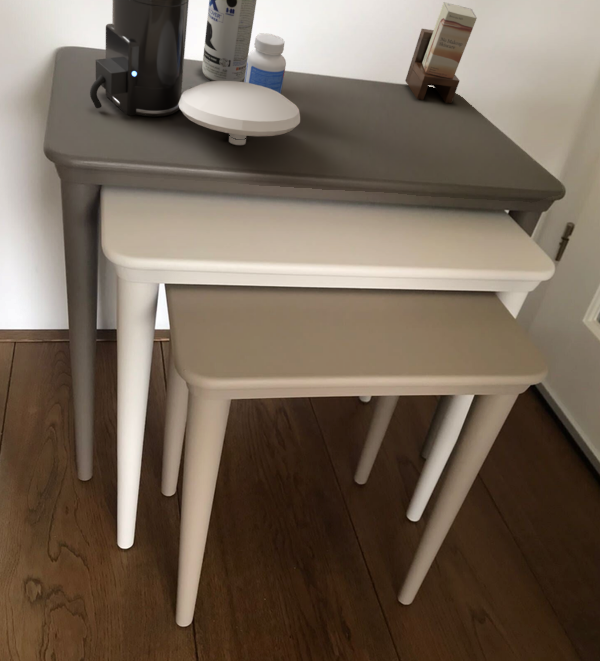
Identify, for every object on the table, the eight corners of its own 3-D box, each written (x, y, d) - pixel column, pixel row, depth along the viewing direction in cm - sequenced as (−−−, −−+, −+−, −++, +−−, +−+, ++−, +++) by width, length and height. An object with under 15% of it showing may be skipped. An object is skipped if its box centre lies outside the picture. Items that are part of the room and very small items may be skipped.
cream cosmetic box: (425, 73, 110) (446, 10, 103) (421, 63, 113) (441, 1, 106) (455, 80, 110) (478, 17, 104) (450, 69, 113) (472, 7, 107)
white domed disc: (157, 71, 85) (155, 125, 89) (219, 109, 75) (215, 169, 79) (260, 70, 94) (255, 120, 98) (328, 104, 84) (319, 158, 88)
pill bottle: (284, 114, 97) (297, 47, 90) (252, 117, 94) (263, 48, 88) (266, 96, 100) (277, 30, 94) (234, 99, 97) (243, 31, 91)
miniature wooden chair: (416, 99, 112) (434, 45, 105) (405, 80, 116) (421, 28, 110) (451, 103, 113) (471, 50, 107) (438, 85, 118) (456, 33, 112)
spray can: (196, 65, 104) (210, -80, 90) (238, 67, 106) (257, -74, 93) (207, 84, 99) (224, -65, 86) (250, 86, 102) (273, -59, 89)
